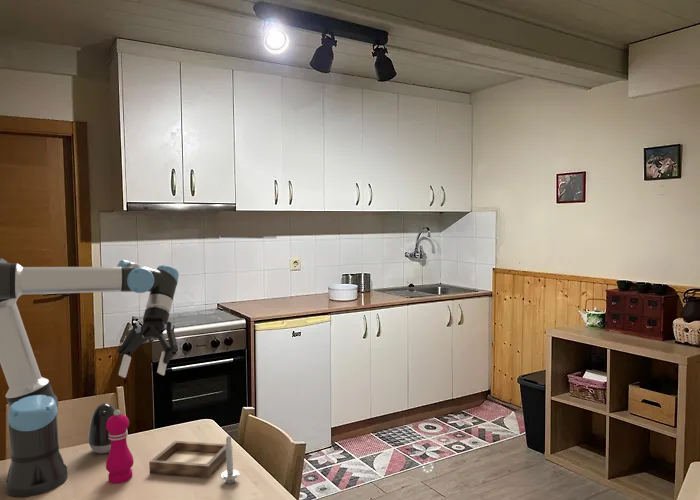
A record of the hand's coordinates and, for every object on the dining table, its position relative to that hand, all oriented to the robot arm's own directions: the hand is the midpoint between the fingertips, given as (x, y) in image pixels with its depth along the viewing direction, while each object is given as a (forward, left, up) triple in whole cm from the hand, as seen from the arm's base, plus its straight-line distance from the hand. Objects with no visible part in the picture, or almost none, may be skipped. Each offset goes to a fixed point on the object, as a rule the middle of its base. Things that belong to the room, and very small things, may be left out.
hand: (141, 375), depth 161 cm
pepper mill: (-1, -11, -27) cm, 29 cm away
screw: (+31, -8, -27) cm, 42 cm away
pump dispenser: (-17, +5, -27) cm, 32 cm away
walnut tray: (+15, 0, -27) cm, 31 cm away
